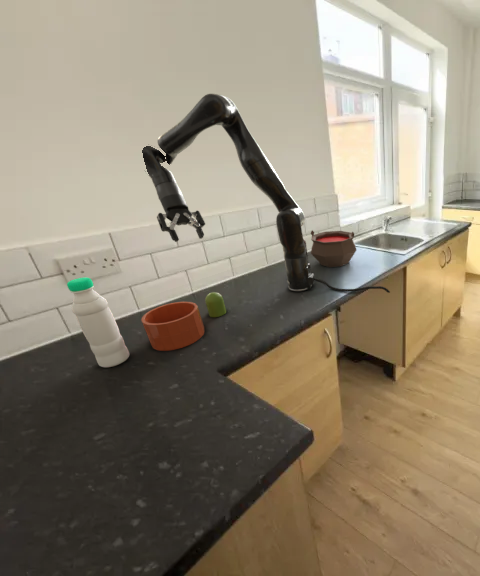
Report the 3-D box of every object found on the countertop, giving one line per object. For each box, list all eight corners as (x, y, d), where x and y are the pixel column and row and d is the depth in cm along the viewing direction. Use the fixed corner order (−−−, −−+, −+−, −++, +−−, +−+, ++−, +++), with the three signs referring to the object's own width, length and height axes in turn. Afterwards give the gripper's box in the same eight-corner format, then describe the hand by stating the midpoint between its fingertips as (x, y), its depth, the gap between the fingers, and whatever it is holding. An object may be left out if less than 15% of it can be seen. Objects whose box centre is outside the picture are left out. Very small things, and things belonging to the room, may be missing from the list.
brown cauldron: (364, 256, 170) (362, 225, 163) (349, 272, 149) (347, 238, 142) (322, 253, 175) (319, 224, 168) (302, 269, 154) (298, 236, 147)
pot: (212, 324, 108) (205, 300, 104) (190, 349, 94) (182, 323, 91) (168, 326, 107) (160, 302, 104) (140, 352, 94) (129, 326, 90)
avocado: (228, 309, 117) (223, 289, 114) (222, 316, 112) (217, 296, 109) (213, 310, 117) (207, 290, 114) (206, 317, 112) (200, 296, 109)
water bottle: (136, 355, 92) (102, 276, 82) (110, 370, 86) (70, 287, 76) (119, 351, 94) (85, 273, 84) (93, 365, 88) (52, 283, 78)
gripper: (152, 193, 107) (171, 237, 108) (195, 192, 118) (213, 232, 119) (146, 204, 112) (165, 246, 112) (188, 202, 123) (205, 240, 123)
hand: (189, 239), depth 115 cm, fingers open, 8 cm apart
